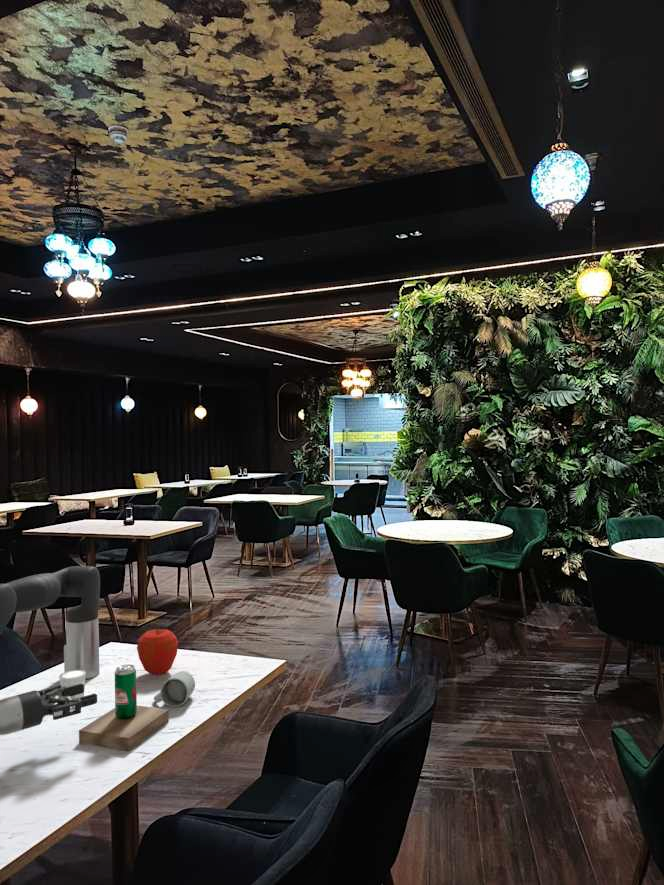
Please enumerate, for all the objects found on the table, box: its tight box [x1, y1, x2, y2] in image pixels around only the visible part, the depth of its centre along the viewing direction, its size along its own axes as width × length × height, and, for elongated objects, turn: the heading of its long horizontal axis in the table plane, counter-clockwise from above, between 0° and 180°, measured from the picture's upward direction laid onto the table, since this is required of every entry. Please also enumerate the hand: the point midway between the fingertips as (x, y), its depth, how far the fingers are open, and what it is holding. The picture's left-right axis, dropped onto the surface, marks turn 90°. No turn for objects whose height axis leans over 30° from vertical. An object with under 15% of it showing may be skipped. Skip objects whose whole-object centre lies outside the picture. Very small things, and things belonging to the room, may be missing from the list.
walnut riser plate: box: [78, 704, 170, 752], centre depth 154 cm, size 14×16×3 cm
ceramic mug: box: [153, 671, 196, 708], centre depth 172 cm, size 11×8×8 cm
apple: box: [136, 627, 179, 676], centre depth 193 cm, size 12×12×14 cm
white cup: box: [58, 670, 86, 703], centre depth 175 cm, size 7×7×7 cm
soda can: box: [114, 664, 138, 719], centre depth 157 cm, size 5×5×12 cm
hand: (89, 692), depth 151 cm, fingers open, 8 cm apart
